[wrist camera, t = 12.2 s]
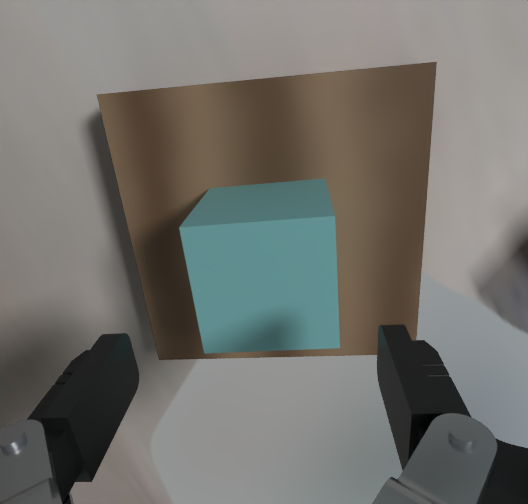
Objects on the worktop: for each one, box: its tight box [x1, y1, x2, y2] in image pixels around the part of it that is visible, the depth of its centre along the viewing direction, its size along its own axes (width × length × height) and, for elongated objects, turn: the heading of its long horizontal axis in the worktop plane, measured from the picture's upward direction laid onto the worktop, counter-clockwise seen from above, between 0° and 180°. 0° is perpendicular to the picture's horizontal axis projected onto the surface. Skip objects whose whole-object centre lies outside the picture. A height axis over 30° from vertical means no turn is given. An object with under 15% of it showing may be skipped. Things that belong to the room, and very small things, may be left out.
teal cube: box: [179, 178, 340, 353], centre depth 19 cm, size 6×6×6 cm
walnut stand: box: [97, 62, 437, 360], centre depth 23 cm, size 16×16×3 cm
